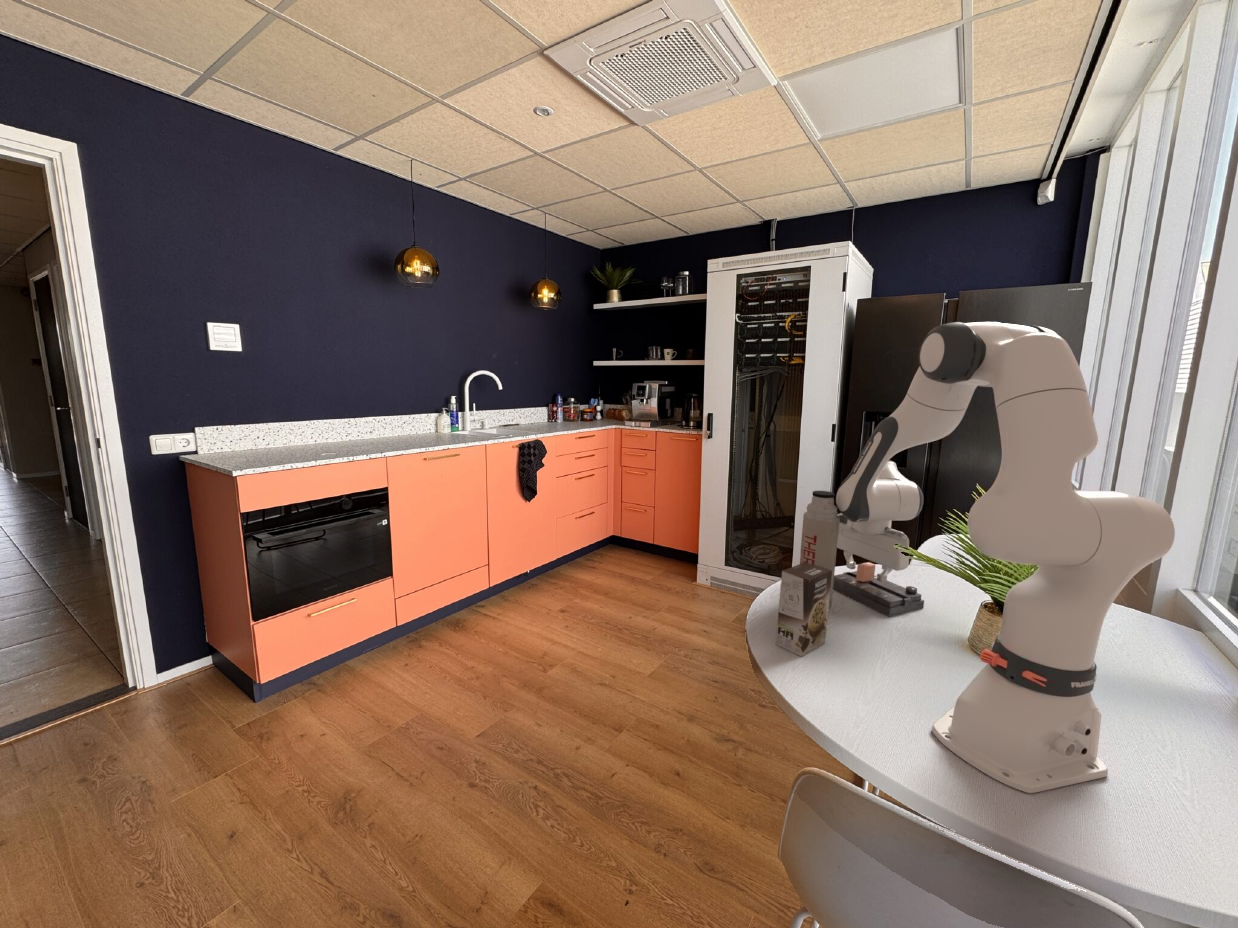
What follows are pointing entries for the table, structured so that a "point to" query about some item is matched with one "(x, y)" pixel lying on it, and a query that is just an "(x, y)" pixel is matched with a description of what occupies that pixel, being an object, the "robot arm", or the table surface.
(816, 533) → the thermos bottle
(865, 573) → the fader
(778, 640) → the coffee box
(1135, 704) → the table surface
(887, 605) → the block
